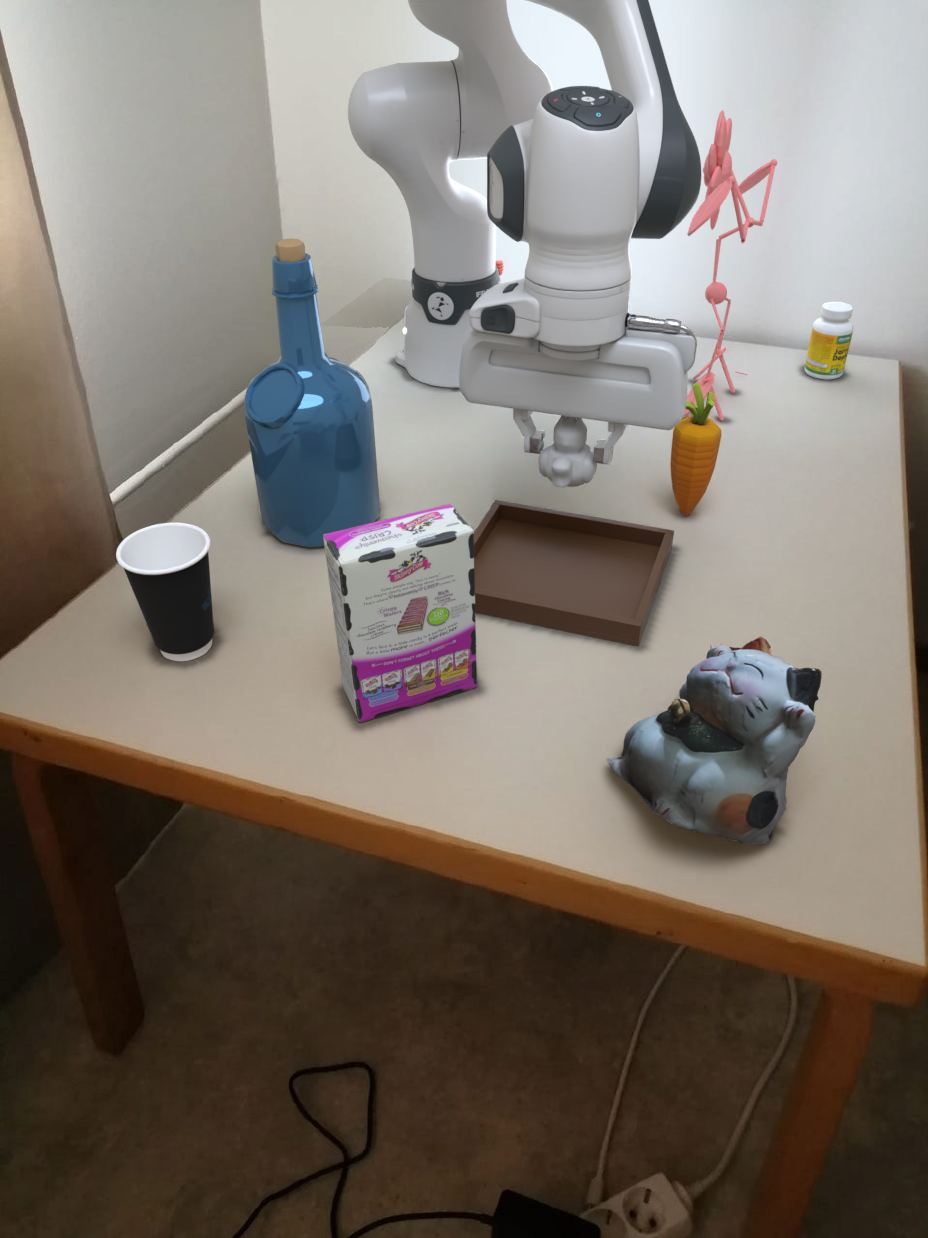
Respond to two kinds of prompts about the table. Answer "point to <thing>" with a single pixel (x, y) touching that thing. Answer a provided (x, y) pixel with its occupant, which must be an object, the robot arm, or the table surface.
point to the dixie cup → (172, 586)
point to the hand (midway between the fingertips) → (567, 455)
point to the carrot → (694, 452)
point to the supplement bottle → (830, 341)
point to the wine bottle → (309, 421)
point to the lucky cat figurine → (724, 744)
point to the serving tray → (568, 570)
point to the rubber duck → (568, 455)
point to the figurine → (719, 185)
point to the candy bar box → (404, 609)
